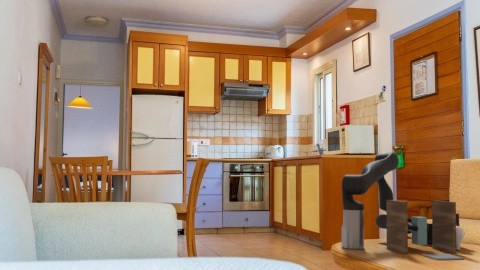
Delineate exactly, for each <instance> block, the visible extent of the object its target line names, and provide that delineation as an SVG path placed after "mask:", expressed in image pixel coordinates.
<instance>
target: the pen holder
mask: <svg viewBox="0 0 480 270" xmlns="http://www.w3.org/2000/svg"><path fill="white" fill-rule="evenodd" d="M427 225H428V227H429V231H427V245H433V244H432V223H428V222H427Z"/></svg>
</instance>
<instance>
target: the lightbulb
mask: <svg viewBox="0 0 480 270" xmlns="http://www.w3.org/2000/svg"><path fill="white" fill-rule="evenodd" d="M465 236H466V235H465V230H464V228H463V227H462V226H460V225H459V226H456V250H458V251H461V243H462V241H463V239H464V237H465Z"/></svg>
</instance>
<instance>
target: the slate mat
mask: <svg viewBox="0 0 480 270" xmlns="http://www.w3.org/2000/svg"><path fill="white" fill-rule="evenodd" d="M421 256H422V257H424V258H429V259H431V260H435V261H460V260H461V261H462V260H463V259H464V260H465V258H464V257H461V256H457V255H455V254H450V253H422V254H421Z"/></svg>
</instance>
